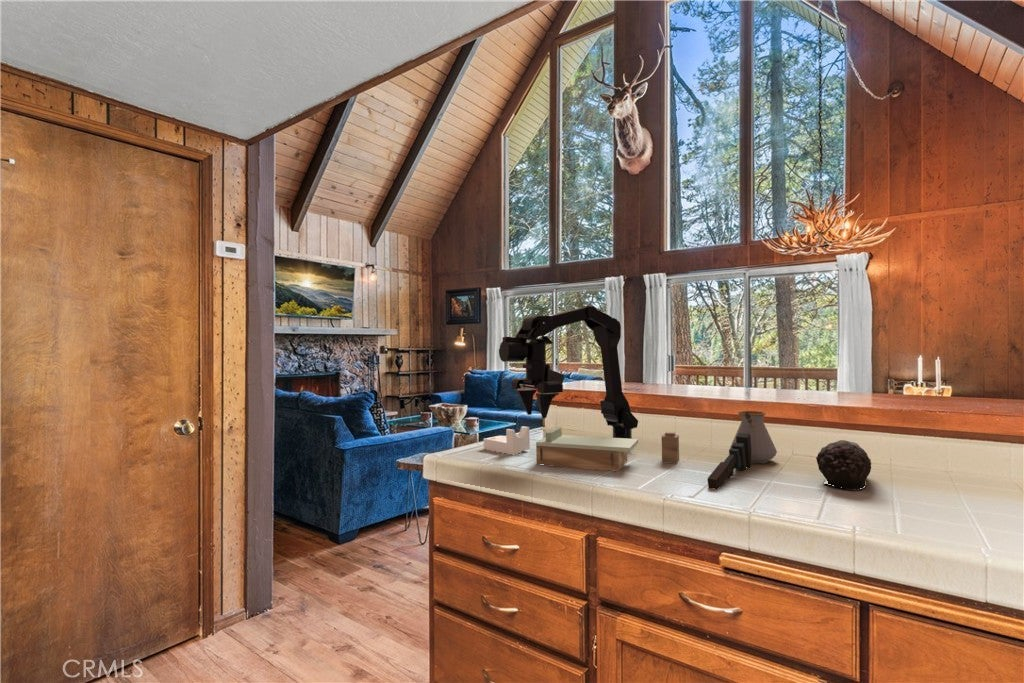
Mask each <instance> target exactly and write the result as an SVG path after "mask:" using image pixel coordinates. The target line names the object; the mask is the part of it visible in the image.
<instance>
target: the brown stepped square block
mask: <svg viewBox="0 0 1024 683" xmlns="http://www.w3.org/2000/svg"><path fill="white" fill-rule="evenodd" d="M678 461H679V462H680V435H679V434H676V432H675V431H665V433H663V434H662V435H661V463H662V462H672V463H671V464H676V463H678V464H679V462H678Z"/></svg>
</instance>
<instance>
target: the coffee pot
mask: <svg viewBox="0 0 1024 683" xmlns="http://www.w3.org/2000/svg"><path fill="white" fill-rule="evenodd" d="M737 413H738V414H739V417H740V418H741V421H740V424H739V427H738V429H737V430H736V433H735V436H734V437H733V440H732V442H731V444H730V447H729V449H730V448H732V445H733V444H734V443H737V442H736V436H737V435H738V434H739V433H744V434H750V439H751V464H756V463H761V464H767V463H766V462H768V463H769V462H770V461H772V460H773V459H774V458H775V456H776V455H777V453H778V451H777V448H776V446H775V444H774V442H773V440H772V438H771V435H770V434H769V433H770V432H768V428H767V427H766V425H765V423H764V418H765V417H764V416H765V415H766V413H765V412H764V411H758V410H757V411H755V410H753V411H752V410H746V411H745V410H744V411H742V410H741V411H738V412H737Z"/></svg>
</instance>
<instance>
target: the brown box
mask: <svg viewBox="0 0 1024 683" xmlns="http://www.w3.org/2000/svg"><path fill="white" fill-rule="evenodd" d="M535 447H536V448H535V450H536V451H535V452H536V453H535V454H536V456H535V457H536V465H537V464H544V465H543V466H545V465H553V466H552V467H558V466H561V467H560V468H570V467H573V468H574V469H585V470H596V469H598V470H599V471H608V470H612V471H611V472H619V471H620V470H621V469H622V468H623V467H624V466H625V464H626V463H627V462H628V452H624V451H608V450H593V449H577V448H562V447H546V446H535ZM622 466H623V467H622ZM621 467H622V468H621ZM620 468H621V469H620ZM613 470H614V471H613Z"/></svg>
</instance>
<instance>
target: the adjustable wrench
mask: <svg viewBox="0 0 1024 683" xmlns="http://www.w3.org/2000/svg"><path fill="white" fill-rule="evenodd" d="M736 442H737V443H734V444H733V445H732V448H730V447H729V450H728V453H729V454H728V455H727V457H726V458H725V459H724V461H720V463H718V465H717V466H716V467H715V469H713V471H712V472H711V474H710V475H709V476H708V478H707V488H708V489H712V488H715V489H714V490H719V489H720V488H721V487H722V486H723V484H724V482H725V481H726V480H727V479H730V478H731V477H733V475H734V473H735V472H734V471H735V470H736V469H739V470H738V471H742V470H746V471H747V469H751V468H752V463H751V439H750V434H744V433H739V434H738V435H737V436H736ZM746 467H747V468H746ZM750 467H751V468H750ZM719 487H720V488H719ZM718 488H719V489H718Z"/></svg>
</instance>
